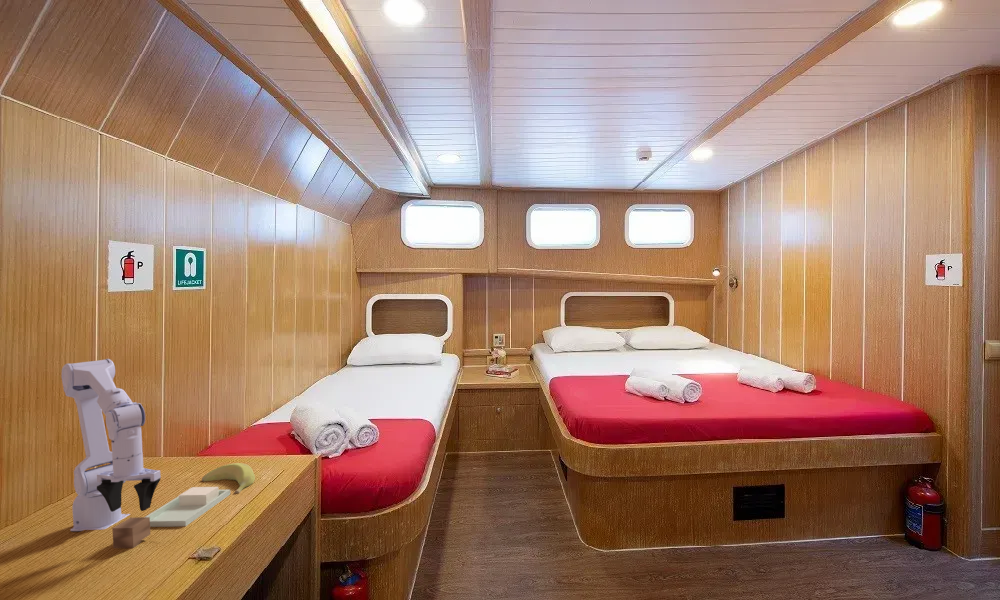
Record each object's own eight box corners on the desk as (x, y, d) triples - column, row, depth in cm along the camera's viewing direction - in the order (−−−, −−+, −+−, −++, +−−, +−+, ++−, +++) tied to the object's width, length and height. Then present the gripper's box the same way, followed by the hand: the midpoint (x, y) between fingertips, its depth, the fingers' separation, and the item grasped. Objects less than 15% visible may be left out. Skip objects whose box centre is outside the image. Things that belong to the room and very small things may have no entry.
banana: (245, 451, 151) (255, 476, 135) (250, 464, 153) (260, 491, 137) (199, 471, 144) (204, 501, 128) (205, 485, 145) (210, 516, 129)
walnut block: (113, 548, 107) (112, 528, 107) (131, 537, 112) (130, 517, 112) (133, 548, 107) (132, 528, 107) (150, 536, 112) (149, 517, 112)
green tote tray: (137, 529, 115) (137, 521, 115) (188, 496, 133) (188, 490, 133) (185, 528, 115) (185, 520, 115) (230, 496, 133) (230, 489, 133)
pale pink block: (179, 505, 126) (178, 495, 126) (192, 497, 132) (192, 487, 132) (206, 505, 126) (206, 494, 126) (218, 496, 131) (218, 486, 131)
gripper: (83, 461, 105) (86, 518, 105) (142, 460, 104) (145, 517, 105) (110, 450, 112) (113, 503, 112) (166, 449, 111) (168, 502, 112)
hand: (130, 509), depth 109 cm, fingers open, 7 cm apart
